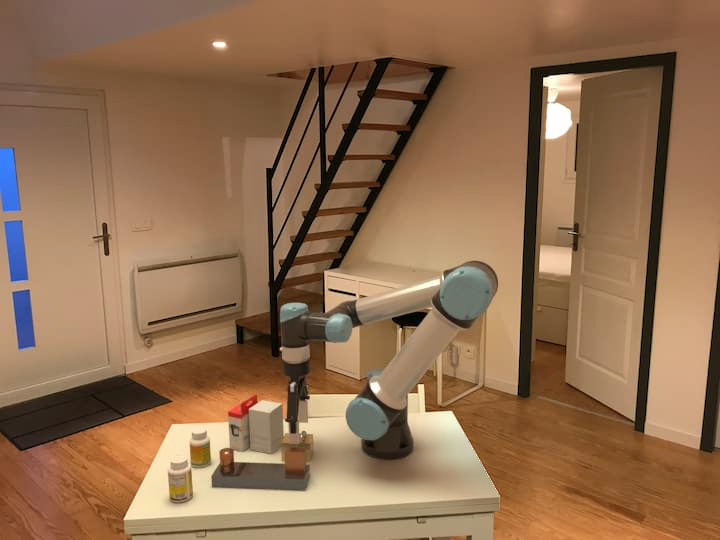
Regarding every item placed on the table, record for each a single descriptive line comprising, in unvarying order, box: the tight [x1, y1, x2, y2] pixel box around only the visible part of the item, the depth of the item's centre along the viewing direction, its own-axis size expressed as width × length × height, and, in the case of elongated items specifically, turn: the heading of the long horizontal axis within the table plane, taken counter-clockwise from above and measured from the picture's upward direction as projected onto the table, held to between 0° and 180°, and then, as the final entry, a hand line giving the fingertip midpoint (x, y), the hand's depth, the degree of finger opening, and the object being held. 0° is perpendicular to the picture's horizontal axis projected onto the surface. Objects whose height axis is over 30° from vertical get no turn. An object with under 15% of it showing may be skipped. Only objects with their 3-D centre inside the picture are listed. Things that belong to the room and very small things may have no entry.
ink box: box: [227, 393, 259, 452], centre depth 172 cm, size 8×5×15 cm, turn 155°
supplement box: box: [249, 399, 285, 455], centre depth 171 cm, size 7×7×13 cm
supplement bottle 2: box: [189, 426, 212, 469], centre depth 161 cm, size 5×5×10 cm
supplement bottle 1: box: [167, 454, 194, 503], centre depth 144 cm, size 6×6×10 cm
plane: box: [210, 447, 311, 492], centre depth 152 cm, size 24×8×9 cm, turn 86°
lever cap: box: [280, 430, 314, 463], centre depth 165 cm, size 8×6×7 cm
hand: (299, 432), depth 165 cm, fingers open, 13 cm apart
